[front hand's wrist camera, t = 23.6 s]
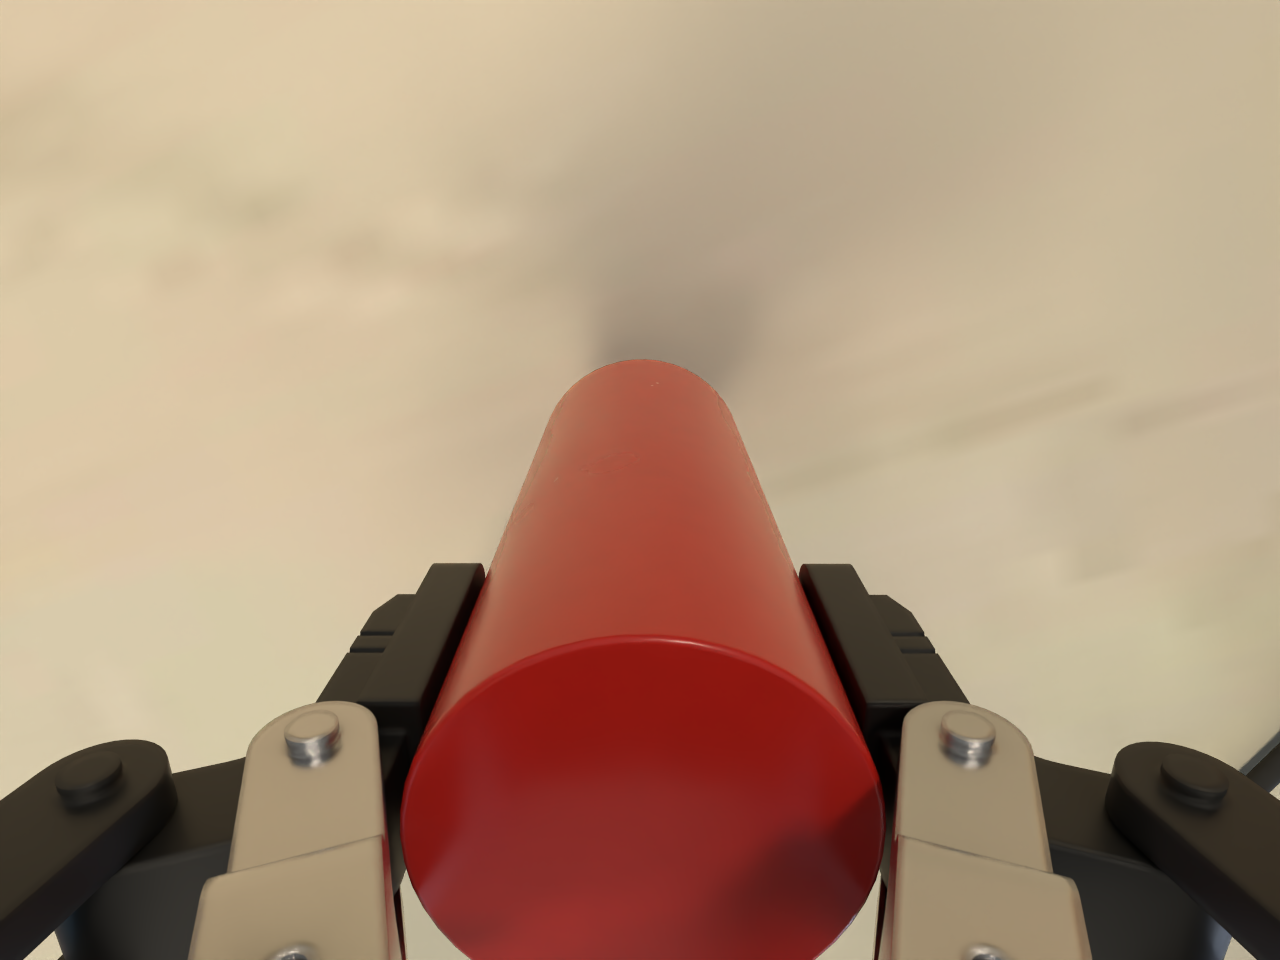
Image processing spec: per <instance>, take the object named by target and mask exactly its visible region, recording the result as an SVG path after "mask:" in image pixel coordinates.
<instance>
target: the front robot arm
mask: <svg viewBox="0 0 1280 960" xmlns="http://www.w3.org/2000/svg"><path fill="white" fill-rule="evenodd" d="M485 579H486V578H485V572H484V568H483V565H482V564H481V563H434V564H433V565H432V566H431V567H430V569H429V571H428V573H427V575H426V576H425V578H424V580H423V582H422V584H421V585H420V587H419V589H418V591H417V593H416V594H397V595H396V596H395V597H393V598H392V599H390V600H389V601H388V602H386V603H385V604H383V605H382V606H380V607H379V608H378V609H376V610H375V611H373V613H372V614H371V616H370V617H369V619H368V621H367V622H366V624H365V625H364V627H363V628H362V630H361V632H360V636H357V638H356V639H355V641H354V643H353V644H352V646H351V647H350V653H347V654H346V655H345V657H344V658H343V660H342V662H341V663H340V665H339V666H338V668H337V669H336V671H335V673H334V674H333V676H332V677H331V679H330V681H329V682H328V684H327V685H326V687H325V688H324V690H323V692H322V693H321V695H320V696H319V698H318V699H317V701H316V703H313V704H309V705H305V706H302V707H299V708H296V709H293V710H291V711H289V712H287V713H284V714H282V715H281V716H279V717H277V718H275V719H274V720H272V721H271V722H269V723H268V724H267V725H265V726H264V727H263V728H262V729H261V730H260V731H259V732H258V733H257V734H256V735H255V736H254V738H253V739H252V741H251V743H250V744H249V747H248V750H247V754H246V757H244V758H241V759H237V760H233V761H229V762H225V763H220V764H215V765H211V766H206V767H201V768H197V769H192V770H187V771H183V772H178V773H173V774H172V772H171V768H170V764H169V760H168V757H167V754H166V752H165V750H164V749H163V748H162V747H161V746H159V745H157V744H155V743H153V742H149V741H145V740H119V741H112V742H107V743H103V744H99V745H95V746H92V747H89V748H86V749H83V750H81V751H78V752H75V753H73V754H71V755H69V756H67V757H64V758H62V759H61V760H59V761H57V762H55V763H53V764H51V765H50V766H48V767H47V768H45V769H44V770H42V771H41V772H39V773H38V774H37V775H35V776H34V777H32V778H31V779H30V780H28V781H27V782H25V783H24V784H23V785H21V786H20V787H19V788H17V789H16V790H14V791H13V792H12V793H10V794H9V795H7V796H6V797H5V798H3V799H2V800H1V801H0V960H23V959H24V958H25V957H27V956H28V955H29V954H30V953H31V952H32V951H33V950H34V949H35V948H36V947H37V946H38V945H39V944H40V943H41V942H43V941H44V940H45V939H46V938H47V937H48V936H49V935H50V934H51V933H52V932H53V931H55V934H56V936H57V939H58V942H59V945H60V947H61V950H62V953H63V955H62V956H61V957H60V958H59V959H58V960H408V955H407V944H406V932H405V921H404V910H403V900H402V893H401V886H400V884H401V882H402V879H403V876H404V873H405V870H406V866H405V863H404V858H403V851H402V845H401V839H400V805H401V799H402V794H403V788H404V783H405V780H406V777H407V775H408V772H409V769H410V766H411V764H412V761H413V758H414V756H415V753H416V751H417V748H418V746H419V743H420V741H421V738H422V736H423V733H424V731H425V728H426V726H427V723H428V721H429V718H430V716H431V713H432V711H433V708H434V706H435V703H436V701H437V698H438V696H439V693H440V691H441V688H442V686H443V683H444V681H445V678H446V676H447V673H448V671H449V668H450V666H451V663H452V661H453V658H454V656H455V653H456V651H457V648H458V646H459V644H460V641H461V639H462V636H463V634H464V631H465V629H466V626H467V624H468V621H469V619H470V616H471V614H472V611H473V609H474V606H475V604H476V601H477V599H478V596H479V594H480V591H481V589H482V586H483V584H484V581H485ZM799 581H800V583H801V586H802V588H803V591H804V593H805V596H806V598H807V600H808V603H809V605H810V608H811V610H812V613H813V615H814V618H815V620H816V623H817V625H818V627H819V630H820V632H821V635H822V637H823V640H824V642H825V645H826V647H827V649H828V652H829V654H830V657H831V659H832V662H833V664H834V667H835V669H836V672H837V674H838V676H839V679H840V681H841V684H842V686H843V689H844V691H845V694H846V696H847V698H848V701H849V703H850V706H851V708H852V711H853V713H854V716H855V718H856V720H857V723H858V725H859V728H860V730H861V733H862V735H863V738H864V740H865V743H866V745H867V747H868V750H869V752H870V755H871V757H872V760H873V762H874V765H875V767H876V770H877V772H878V774H879V777H880V781H881V786H882V790H883V795H884V799H885V808H886V835H885V844H884V852H883V857H882V861H881V864H880V868H879V870H880V872H881V879H880V886H879V893H878V900H877V910H876V921H875V932H874V944H873V955H872V960H1223V959H1224V957H1225V954H1226V951H1227V949H1228V946H1229V943H1230V940H1231V938H1232V937H1233V938H1234V939H1235V940H1236V941H1237V942H1239V943H1240V944H1241V945H1242V946H1243V947H1244V948H1245V949H1246V950H1247V951H1248V952H1249V953H1250V954H1251V955H1252V956H1254V957H1255V958H1256V959H1257V960H1280V801H1279V800H1278V799H1277V798H1275V797H1274V796H1273V795H1271V794H1270V793H1269V792H1271V791H1272V790H1273V789H1274V788H1275V787H1276V786H1277V785H1278V784H1279V783H1280V743H1279V744H1278V745H1277V746H1276V747H1275V748H1274V749H1273V750H1272V751H1271V752H1270V753H1269V754H1268V755H1267V756H1266V757H1265V758H1264V759H1263V760H1262V761H1261V762H1260V763H1258V764H1257V765H1256V766H1255V767H1254V768H1253V769H1252V770H1251V771H1250V772H1249V773H1248V774H1247V775H1246V776H1245V775H1243V774H1242V773H1240V772H1239V771H1237V770H1236V769H1234V768H1233V767H1231V766H1229V765H1228V764H1226V763H1224V762H1222V761H1220V760H1218V759H1216V758H1214V757H1212V756H1209V755H1207V754H1205V753H1202V752H1199V751H1196V750H1194V749H1190V748H1187V747H1183V746H1179V745H1175V744H1170V743H1162V742H1140V743H1134V744H1131V745H1128V746H1126V747H1124V748H1123V749H1121V750H1120V751H1119V752H1118V754H1117V756H1116V758H1115V762H1114V766H1113V769H1112V773H1111V774H1107V773H1102V772H1098V771H1093V770H1088V769H1083V768H1079V767H1074V766H1069V765H1065V764H1060V763H1056V762H1052V761H1048V760H1045V759H1042V758H1039V757H1036V756H1034V754H1033V750H1032V747H1031V744H1030V743H1029V741H1028V739H1027V738H1026V736H1025V735H1024V734H1023V733H1022V732H1021V731H1020V730H1019V729H1018V728H1017V727H1016V726H1015V725H1013V724H1012V723H1011V722H1009V721H1008V720H1006V719H1005V718H1003V717H1001V716H999V715H998V714H996V713H993V712H991V711H989V710H987V709H984V708H981V707H978V706H975V705H971V704H970V703H969V701H968V700H967V698H966V697H965V695H964V694H963V692H962V690H961V689H960V687H959V686H958V684H957V683H956V681H955V680H954V678H953V676H952V675H951V673H950V672H949V670H948V669H947V667H946V666H945V664H944V662H943V661H942V659H941V658H940V656H939V655H938V654H935V648H934V647H933V645H932V644H931V642H930V641H929V639H928V638H927V637H925V636H924V631H923V630H922V628H921V627H920V625H919V624H918V622H917V620H916V619H915V617H914V616H913V614H912V613H911V612H910V611H909V610H907V609H906V608H904V607H903V606H902V605H900V604H899V603H897V602H896V601H894V600H893V599H892V598H890V597H889V596H887V595H869V594H868V592H867V591H866V589H865V587H864V585H863V583H862V582H861V580H860V578H859V576H858V575H857V573H856V571H855V569H854V568H853V566H852V565H851V564H803V565H802V566H801V568H800V572H799Z"/></svg>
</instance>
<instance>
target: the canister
mask: <svg viewBox="0 0 1280 960" xmlns="http://www.w3.org/2000/svg"><path fill="white" fill-rule="evenodd" d="M885 835H886V808H885V799H884V795H883V790H882V786H881V781H880V777H879V774H878V772H877V770H876V767H875V765H874V762H873V760H872V757H871V755H870V752H869V750H868V747H867V745H866V743H865V740H864V738H863V735H862V733H861V730H860V728H859V725H858V723H857V720H856V718H855V716H854V713H853V711H852V708H851V706H850V703H849V701H848V698H847V696H846V694H845V691H844V689H843V686H842V684H841V681H840V679H839V676H838V674H837V672H836V669H835V667H834V664H833V662H832V659H831V657H830V654H829V652H828V649H827V647H826V645H825V642H824V640H823V637H822V635H821V632H820V630H819V627H818V625H817V623H816V620H815V618H814V615H813V613H812V610H811V608H810V605H809V603H808V600H807V598H806V596H805V593H804V591H803V588H802V586H801V583H800V581H799V578H798V576H797V574H796V571H795V569H794V566H793V564H792V561H791V559H790V556H789V554H788V551H787V549H786V547H785V544H784V542H783V539H782V537H781V534H780V532H779V529H778V527H777V525H776V522H775V520H774V517H773V515H772V512H771V510H770V507H769V505H768V502H767V500H766V498H765V495H764V493H763V490H762V488H761V485H760V483H759V480H758V478H757V476H756V473H755V471H754V468H753V466H752V463H751V461H750V458H749V456H748V454H747V451H746V449H745V446H744V444H743V441H742V439H741V436H740V434H739V431H738V429H737V427H736V424H735V422H734V419H733V417H732V414H731V412H730V411H729V409H728V407H727V405H726V404H725V402H724V401H723V400H722V398H721V397H720V396H719V394H718V393H717V392H716V391H715V390H714V389H713V388H712V387H711V386H710V385H709V384H708V383H707V382H705V381H704V380H702V379H701V378H700V377H698V376H697V375H695V374H693V373H692V372H690V371H688V370H686V369H684V368H681V367H679V366H676V365H674V364H670V363H666V362H662V361H656V360H647V359H644V360H628V361H621V362H617V363H613V364H610V365H606V366H604V367H602V368H600V369H597V370H595V371H593V372H591V373H590V374H588V375H586V376H585V377H583V378H582V379H581V380H579V381H578V382H577V383H576V384H574V385H573V386H572V387H571V388H570V389H569V390H568V391H567V392H566V393H565V395H564V396H563V397H562V399H561V400H560V401H559V403H558V404H557V405H556V407H555V409H554V411H553V413H552V415H551V417H550V419H549V422H548V424H547V427H546V429H545V432H544V434H543V437H542V439H541V442H540V444H539V447H538V449H537V452H536V454H535V457H534V459H533V462H532V464H531V467H530V469H529V472H528V474H527V477H526V479H525V482H524V484H523V487H522V489H521V492H520V494H519V497H518V499H517V502H516V504H515V507H514V509H513V511H512V514H511V516H510V519H509V521H508V524H507V526H506V529H505V531H504V534H503V536H502V539H501V541H500V544H499V546H498V549H497V551H496V554H495V556H494V559H493V561H492V564H491V566H490V569H489V571H488V574H487V576H486V579H485V581H484V584H483V586H482V589H481V591H480V594H479V596H478V599H477V601H476V604H475V606H474V609H473V611H472V614H471V616H470V619H469V621H468V624H467V626H466V629H465V631H464V634H463V636H462V639H461V641H460V644H459V646H458V648H457V651H456V653H455V656H454V658H453V661H452V663H451V666H450V668H449V671H448V673H447V676H446V678H445V681H444V683H443V686H442V688H441V691H440V693H439V696H438V698H437V701H436V703H435V706H434V708H433V711H432V713H431V716H430V718H429V721H428V723H427V726H426V728H425V731H424V733H423V736H422V738H421V741H420V743H419V746H418V748H417V751H416V753H415V756H414V758H413V761H412V764H411V766H410V769H409V772H408V775H407V777H406V780H405V783H404V788H403V794H402V799H401V805H400V839H401V845H402V851H403V858H404V863H405V866H406V869H407V872H408V875H409V878H410V881H411V884H412V886H413V888H414V890H415V892H416V894H417V896H418V898H419V900H420V902H421V904H422V906H423V908H424V909H425V911H426V912H427V913H428V915H429V916H430V918H431V919H432V920H433V922H434V923H435V925H436V926H437V927H438V929H439V930H440V931H441V932H442V933H443V934H444V935H445V936H446V937H447V938H448V939H449V940H450V941H451V942H452V943H453V945H454V946H455V947H456V948H458V949H459V950H460V951H461V952H462V953H464V954H465V955H466V956H467V957H469V958H470V959H471V960H815V959H816V958H817V957H819V956H820V955H821V954H822V953H823V952H824V951H825V950H827V949H828V948H829V947H830V946H831V945H832V944H833V943H834V942H835V941H836V940H837V939H838V938H839V937H840V936H841V935H842V933H843V932H844V931H845V930H846V929H847V928H848V927H849V926H850V924H851V923H852V922H853V920H854V919H855V917H856V916H857V914H858V913H859V911H860V910H861V908H862V907H863V905H864V904H865V902H866V900H867V898H868V896H869V894H870V891H871V889H872V887H873V885H874V883H875V881H876V878H877V875H878V871H879V868H880V864H881V861H882V857H883V852H884V844H885Z"/></svg>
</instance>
